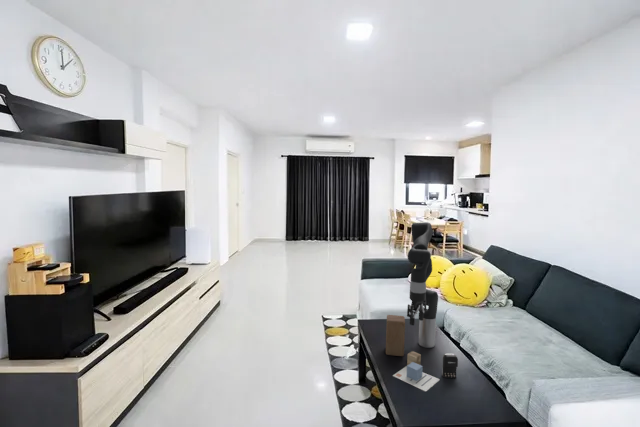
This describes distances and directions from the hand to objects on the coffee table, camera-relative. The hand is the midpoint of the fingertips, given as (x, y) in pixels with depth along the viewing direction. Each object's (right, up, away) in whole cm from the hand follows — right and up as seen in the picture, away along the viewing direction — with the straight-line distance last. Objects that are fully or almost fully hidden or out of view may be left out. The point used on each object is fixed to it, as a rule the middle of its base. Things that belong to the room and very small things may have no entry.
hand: (416, 322), depth 169 cm
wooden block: (-5, -26, +28) cm, 38 cm away
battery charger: (+17, -28, +3) cm, 33 cm away
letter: (0, -28, +2) cm, 28 cm away
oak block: (+2, -27, +14) cm, 30 cm away
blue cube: (0, -28, +3) cm, 28 cm away
